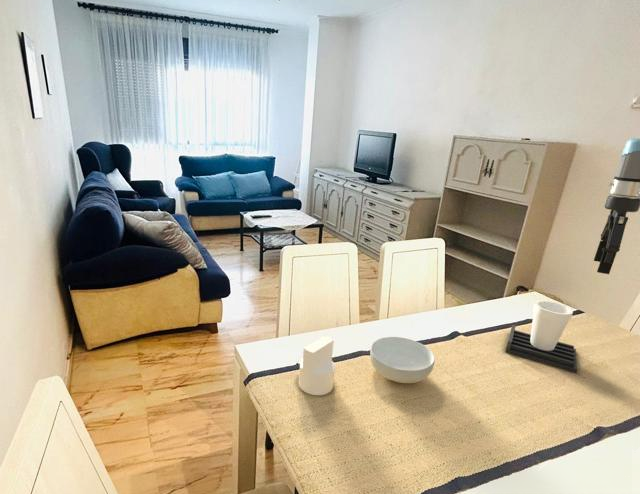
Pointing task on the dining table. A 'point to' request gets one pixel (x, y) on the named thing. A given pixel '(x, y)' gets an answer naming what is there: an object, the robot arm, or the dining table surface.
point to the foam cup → (548, 324)
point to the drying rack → (542, 351)
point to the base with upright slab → (317, 367)
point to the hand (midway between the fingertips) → (600, 267)
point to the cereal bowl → (401, 359)
